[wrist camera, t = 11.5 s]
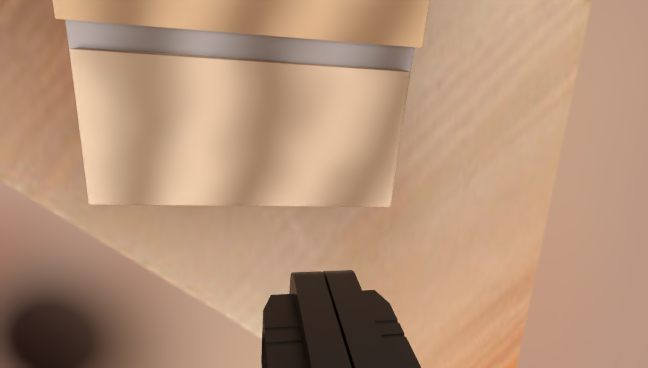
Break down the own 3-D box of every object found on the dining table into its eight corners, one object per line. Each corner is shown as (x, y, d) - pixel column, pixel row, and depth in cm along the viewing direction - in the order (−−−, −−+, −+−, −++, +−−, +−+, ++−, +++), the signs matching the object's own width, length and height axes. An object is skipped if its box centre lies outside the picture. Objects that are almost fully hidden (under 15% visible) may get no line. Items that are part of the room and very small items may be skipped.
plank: (95, 196, 25) (88, 204, 24) (78, 47, 22) (69, 49, 21) (384, 199, 29) (390, 206, 27) (403, 69, 26) (410, 72, 24)
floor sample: (95, 189, 27) (81, 205, 25) (50, -163, 20) (26, -183, 18) (385, 193, 30) (395, 208, 28) (430, -106, 23) (448, -118, 21)
